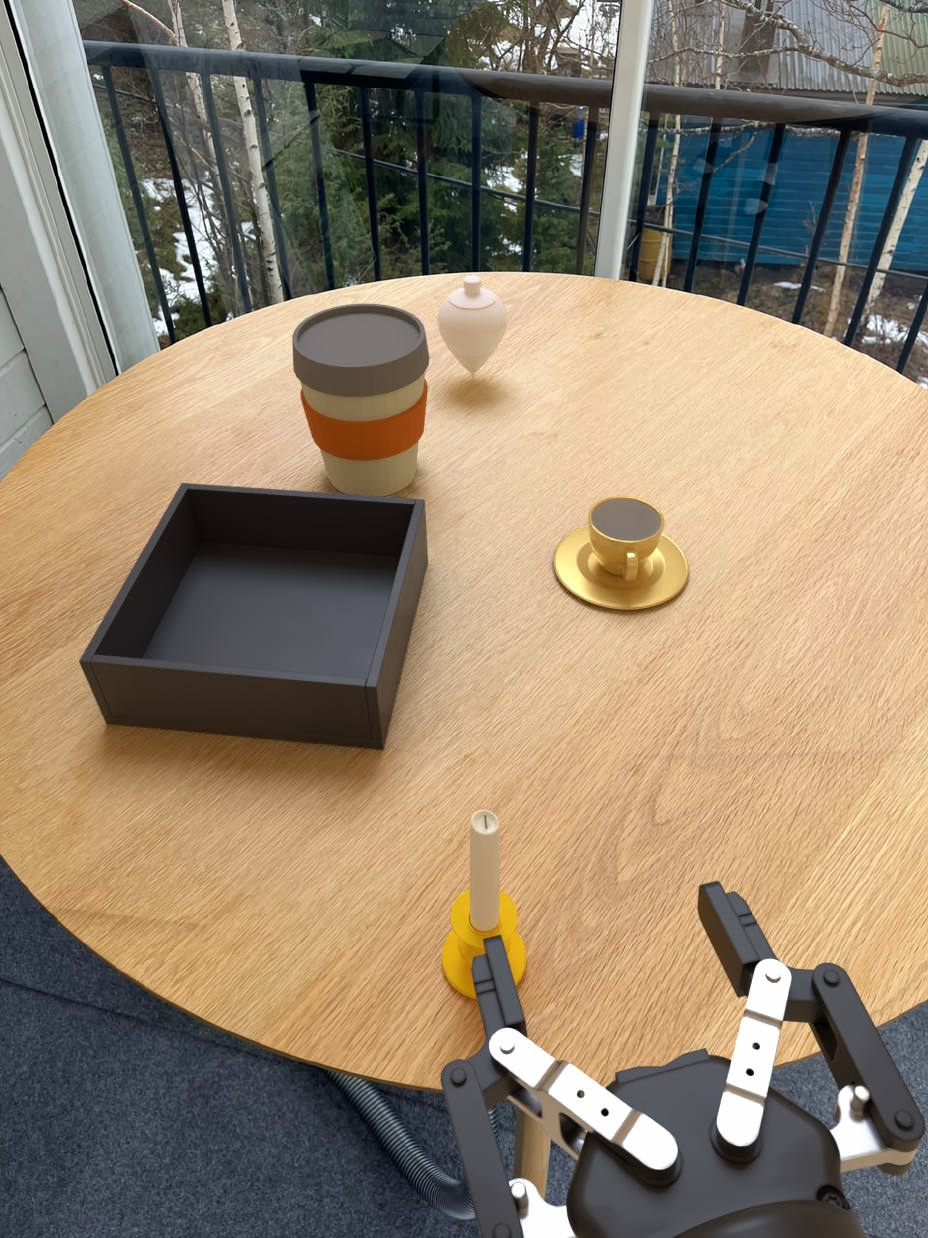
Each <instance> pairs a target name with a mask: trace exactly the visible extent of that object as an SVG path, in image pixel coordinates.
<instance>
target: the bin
mask: <svg viewBox="0 0 928 1238" xmlns="http://www.w3.org/2000/svg"><path fill="white" fill-rule="evenodd" d="M426 510H427V509H426V499H422V498H409V497H398V496H397V497H395V496H368V495H353V494H345V493H338V492H337V493H336V492H322V491H306V490H292V489H291V490H290V489H280V488H279V489H278V488H265V487H263V488H262V487H250V486H249V487H247V486H234V485H233V486H232V485H218V484H204V483H189V482H181V483H180V485H179V487H178V489H177V490H176V492H175V494H174V496H173V497H172V499H171V500H170V502H169V503H168V506H167V507H166V509H165V511H164V512H163V514H162V515H161V518H160V520H159V521H158V523H157V524H156V527H155V529H154V530H153V532H152V533H151V535H150V537H149V539H148V540H147V542H146V544H145V545H144V547H143V549H142V551H141V553H140V554H139V556H138V558H137V559H136V561H135V563H134V564H133V567H132V568H131V570H130V572H129V573H128V575H127V576H126V579H125V580H124V582H123V584H122V586H121V587H120V589H119V591H117V594H116V595H115V597H114V599H113V601H112V602H111V605H110V606H109V608H108V610H107V611H106V613H105V615H104V617H103V619H102V620H101V622H100V624H99V625H98V627H97V629H96V630H95V632H94V634H93V636H92V638H91V639H90V641H89V643H88V644H87V646H86V648H85V650H84V651H83V653H82V655H81V656H80V658H79V660H78V663H79V665H80V667H81V669H82V672H83V674H84V676H85V678H86V681H87V684H88V685H89V688H90V691H91V693H92V695H93V697H94V699H95V702H96V704H97V706H98V709H99V711H100V714H101V715H102V718H103V720H104V722H105V724H108V725H118V726H127V727H129V726H130V727H139V728H149V729H159V730H168V731H169V730H171V731H179V732H180V731H181V732H189V733H190V732H191V733H201V734H202V733H203V734H213V735H223V736H233V737H243V738H254V739H264V740H265V739H266V740H276V741H287V742H296V743H307V744H315V745H328V746H338V747H350V748H357V749H358V748H360V749H370V750H380V751H381V750H382V751H383V750H384V749H385V745H386V741H387V737H388V733H389V729H390V724H391V720H392V716H393V711H394V707H395V704H396V698H397V695H398V690H399V685H400V682H401V677H402V673H403V669H404V665H405V661H406V656H407V652H408V648H409V644H410V639H411V635H412V631H413V627H414V622H415V619H416V614H417V610H418V605H419V602H420V598H421V593H422V589H423V585H424V580H425V577H426V572H427V568H428V563H429V553H428V552H429V551H428V531H427V515H426V513H427V512H426Z"/></svg>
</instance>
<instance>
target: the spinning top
mask: <svg viewBox="0 0 928 1238" xmlns="http://www.w3.org/2000/svg"><path fill="white" fill-rule="evenodd" d="M462 282H463V287H461V288H457V289H455V290H453V291H452V292H450V294H449V295H448V297H446V298H445V300H444V301H443V302H442V304H441V306H440V308H439V310H438V314H437V327H438V331H439V334H440V336H441V338H442V340H443V342H444V344H445V346H446V347H447V349H448V351H450V353H451V354H452V355H453V357H455V358H454V359H456V360H457V362H458V363H459V364H460V365H461V366H462V367H463V368H464V369H465V370H466V371H467V372H469V374H470V375H471V376H470V379H471V380H472V381H474V380H475V378H476V377H475V373H477V372H479V371H480V370H481V369H482V367H483V366H484V365H485V364H486V363H487V362H488V361H489V359H490V358H491V357H492V356H493V354H494V353H495V351H496V350H498V347H499V346H500V344H501V342H502V340H503V339H504V336H505V334H506V332H507V328H508V322H509V321H508V319H509V318H508V313H507V309H506V307H505V305H504V304H503V302H502V301H501V300H500V298H499V297H498V296H497V295H496V293H495V292H494V291H492V290H490V289H488V288H484V287H482V278H481V277H480V276H478V275H467V276H465V277H464V278H463V279H462Z"/></svg>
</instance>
